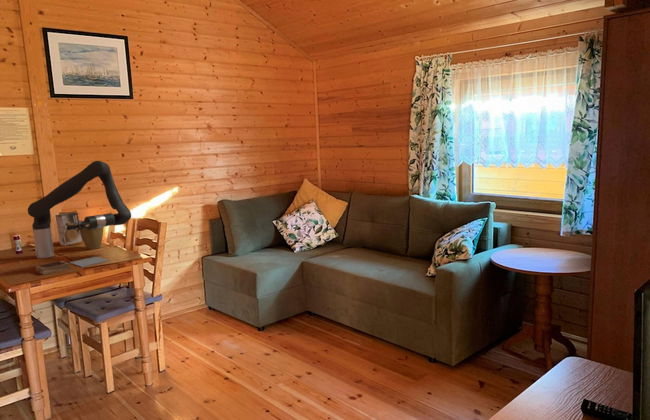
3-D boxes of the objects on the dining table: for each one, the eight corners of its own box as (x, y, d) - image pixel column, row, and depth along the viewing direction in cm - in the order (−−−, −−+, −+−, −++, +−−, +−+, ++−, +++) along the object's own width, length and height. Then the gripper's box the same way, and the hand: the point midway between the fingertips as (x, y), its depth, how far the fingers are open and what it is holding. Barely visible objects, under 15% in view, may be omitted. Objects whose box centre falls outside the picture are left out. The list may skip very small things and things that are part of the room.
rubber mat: (69, 263, 275) (69, 262, 275) (96, 257, 287) (95, 256, 286) (81, 267, 266) (81, 266, 266) (108, 261, 277) (108, 259, 277)
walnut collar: (36, 271, 260) (35, 266, 260) (61, 266, 270) (61, 260, 269) (43, 274, 254) (42, 269, 253) (69, 268, 264) (69, 263, 263)
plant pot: (100, 244, 321) (97, 220, 318) (110, 247, 310) (107, 222, 308) (76, 249, 310) (73, 224, 308) (85, 252, 300) (82, 226, 297)
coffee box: (75, 240, 273) (71, 212, 271) (82, 241, 270) (78, 212, 267) (59, 244, 266) (55, 215, 263) (66, 245, 262) (61, 215, 260)
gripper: (88, 214, 281) (58, 219, 269) (100, 216, 272) (69, 221, 259) (90, 227, 282) (59, 232, 270) (102, 229, 273) (71, 235, 261)
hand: (64, 227), depth 265 cm, fingers closed on coffee box, 7 cm apart
